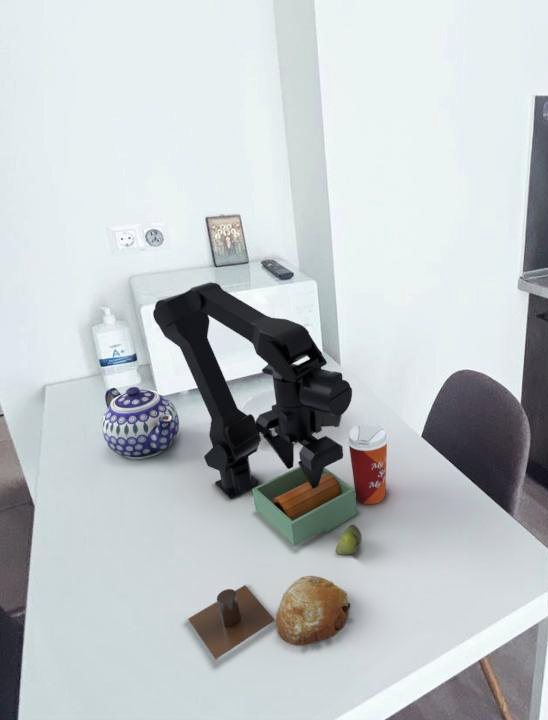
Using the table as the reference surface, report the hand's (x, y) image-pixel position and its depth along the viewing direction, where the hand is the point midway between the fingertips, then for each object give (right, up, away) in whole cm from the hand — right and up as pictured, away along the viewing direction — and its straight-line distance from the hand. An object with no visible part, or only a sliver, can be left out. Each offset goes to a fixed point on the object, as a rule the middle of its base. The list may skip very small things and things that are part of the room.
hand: (302, 477), depth 97 cm
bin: (0, -7, +3) cm, 8 cm away
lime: (+9, -11, -5) cm, 15 cm away
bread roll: (+5, -17, -18) cm, 25 cm away
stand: (-6, -17, -19) cm, 26 cm away
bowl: (-11, +4, +30) cm, 32 cm away
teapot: (-40, +1, +24) cm, 47 cm away
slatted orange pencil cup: (-4, -6, -2) cm, 7 cm away
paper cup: (+11, -5, +8) cm, 15 cm away
